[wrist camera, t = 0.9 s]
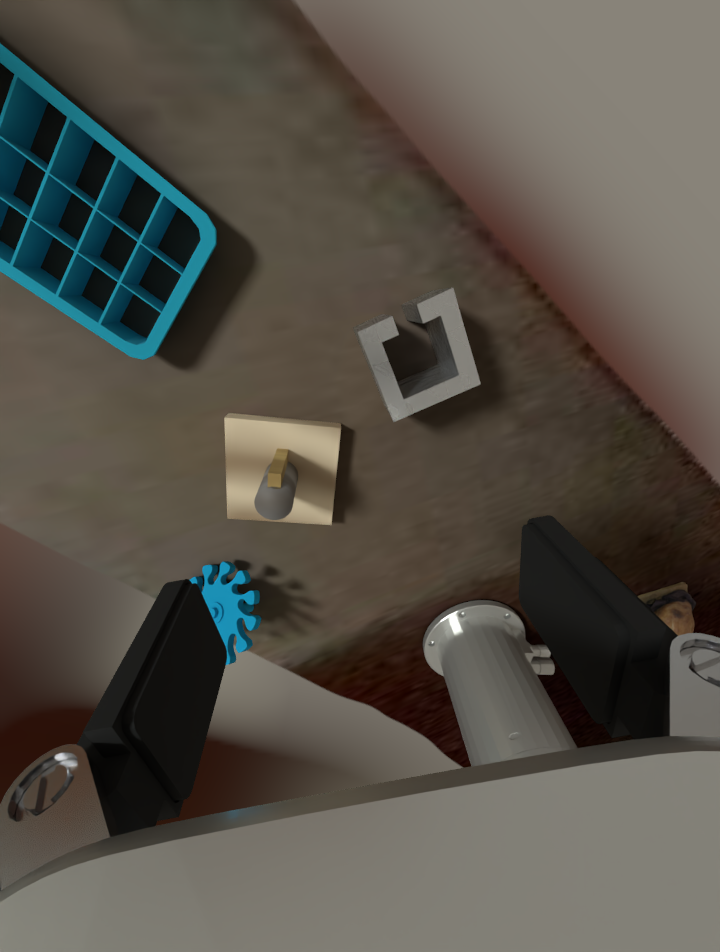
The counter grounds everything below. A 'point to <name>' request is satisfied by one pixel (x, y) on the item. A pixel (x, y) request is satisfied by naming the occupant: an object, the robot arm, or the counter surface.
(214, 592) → the gear
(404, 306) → the grey hollow block
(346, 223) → the counter surface
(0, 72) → the counter surface
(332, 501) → the keyed post stand
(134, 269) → the ice cube tray
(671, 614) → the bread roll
